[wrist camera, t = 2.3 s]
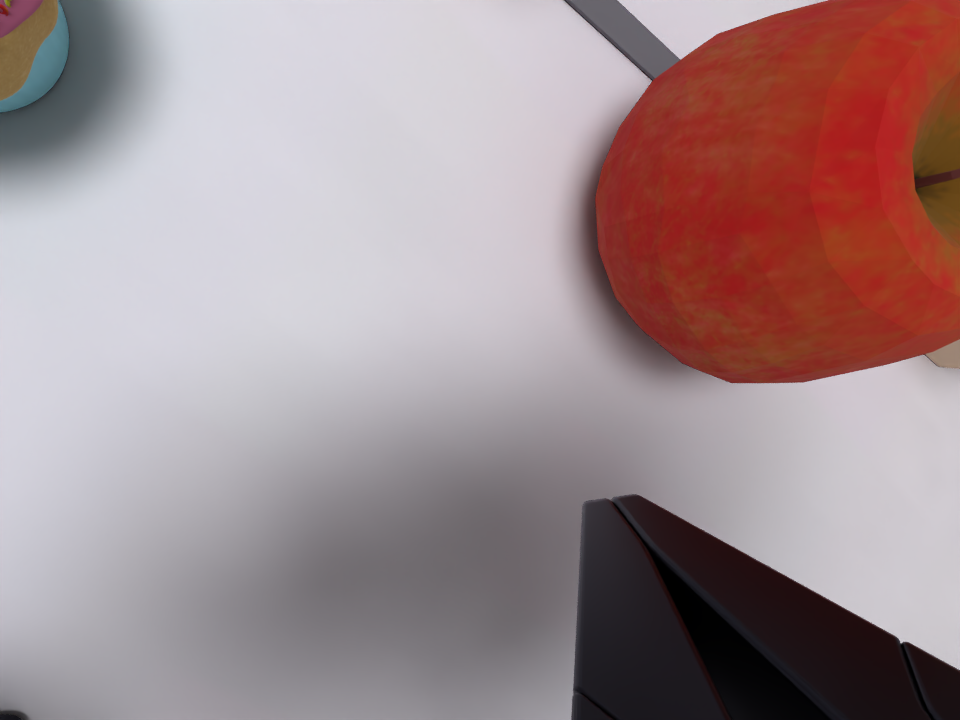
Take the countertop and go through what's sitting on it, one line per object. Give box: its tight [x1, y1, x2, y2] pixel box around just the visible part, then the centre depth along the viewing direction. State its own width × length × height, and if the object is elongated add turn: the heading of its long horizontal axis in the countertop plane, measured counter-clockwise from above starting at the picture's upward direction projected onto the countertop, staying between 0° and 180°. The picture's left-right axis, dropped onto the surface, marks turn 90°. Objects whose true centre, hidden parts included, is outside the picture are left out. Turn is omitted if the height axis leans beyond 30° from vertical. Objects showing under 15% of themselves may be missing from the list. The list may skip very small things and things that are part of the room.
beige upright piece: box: [565, 0, 960, 369], centre depth 17 cm, size 3×28×7 cm, turn 56°
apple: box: [595, 0, 960, 383], centre depth 15 cm, size 11×11×11 cm
